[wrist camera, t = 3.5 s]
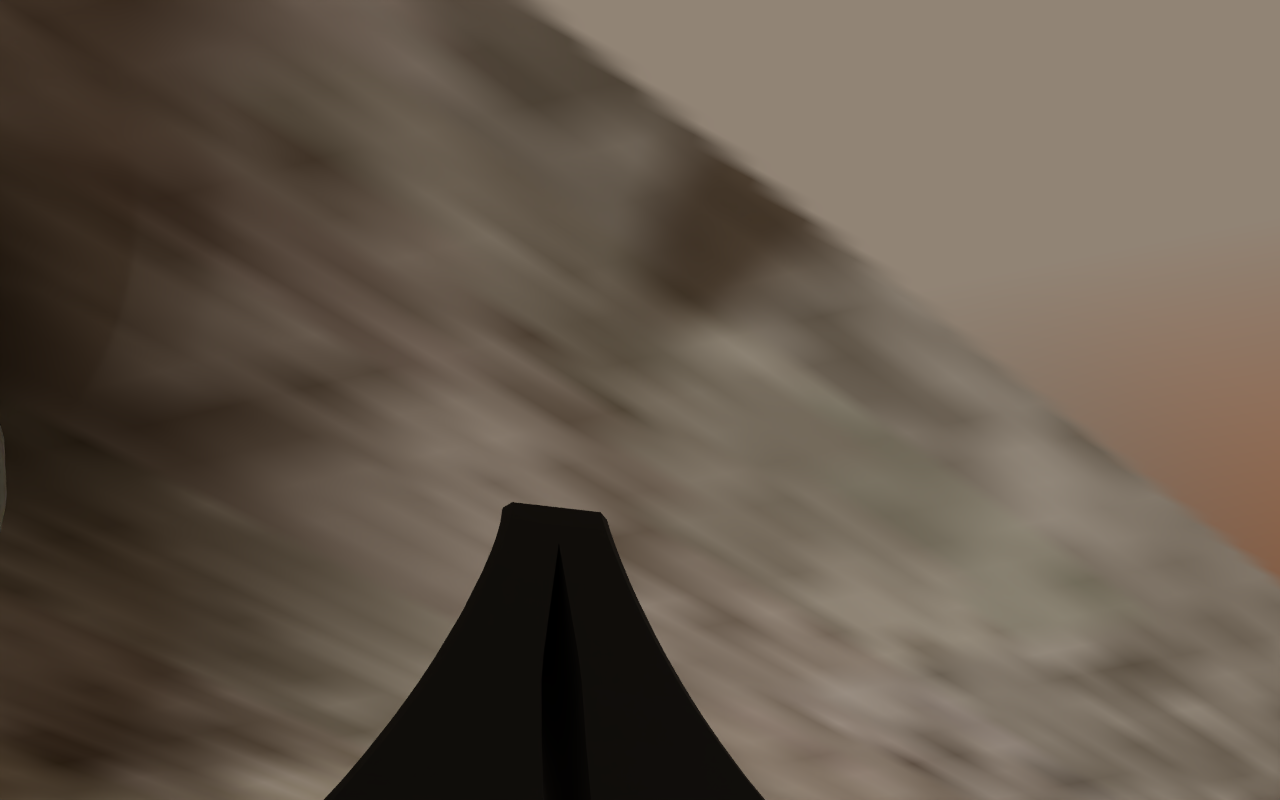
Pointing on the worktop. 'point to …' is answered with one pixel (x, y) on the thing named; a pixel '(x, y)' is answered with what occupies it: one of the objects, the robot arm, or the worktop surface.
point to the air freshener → (2, 478)
